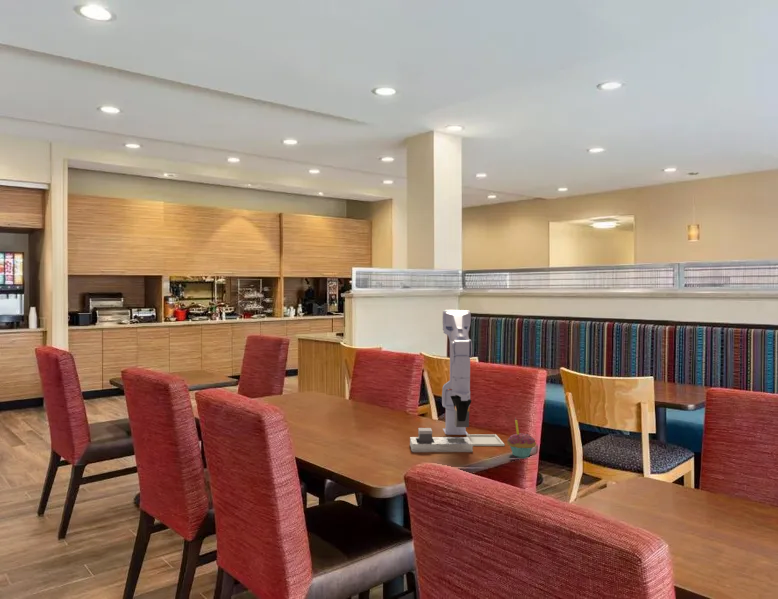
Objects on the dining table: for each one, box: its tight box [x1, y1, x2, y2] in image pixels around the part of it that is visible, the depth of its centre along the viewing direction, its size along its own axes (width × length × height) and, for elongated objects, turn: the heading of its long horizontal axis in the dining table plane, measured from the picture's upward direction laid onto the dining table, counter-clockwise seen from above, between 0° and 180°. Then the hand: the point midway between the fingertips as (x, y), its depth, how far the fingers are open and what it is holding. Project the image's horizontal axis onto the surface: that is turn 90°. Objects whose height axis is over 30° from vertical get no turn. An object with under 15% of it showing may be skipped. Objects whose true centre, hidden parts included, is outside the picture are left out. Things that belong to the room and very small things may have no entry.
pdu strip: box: [409, 436, 474, 453], centre depth 195 cm, size 9×19×3 cm, turn 92°
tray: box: [465, 433, 505, 447], centre depth 205 cm, size 13×10×1 cm
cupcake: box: [506, 417, 536, 460], centre depth 188 cm, size 9×8×12 cm
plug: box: [454, 406, 470, 428], centre depth 196 cm, size 4×4×6 cm
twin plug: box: [417, 427, 433, 443], centre depth 195 cm, size 4×4×6 cm
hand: (460, 419), depth 196 cm, fingers closed on plug, 4 cm apart
